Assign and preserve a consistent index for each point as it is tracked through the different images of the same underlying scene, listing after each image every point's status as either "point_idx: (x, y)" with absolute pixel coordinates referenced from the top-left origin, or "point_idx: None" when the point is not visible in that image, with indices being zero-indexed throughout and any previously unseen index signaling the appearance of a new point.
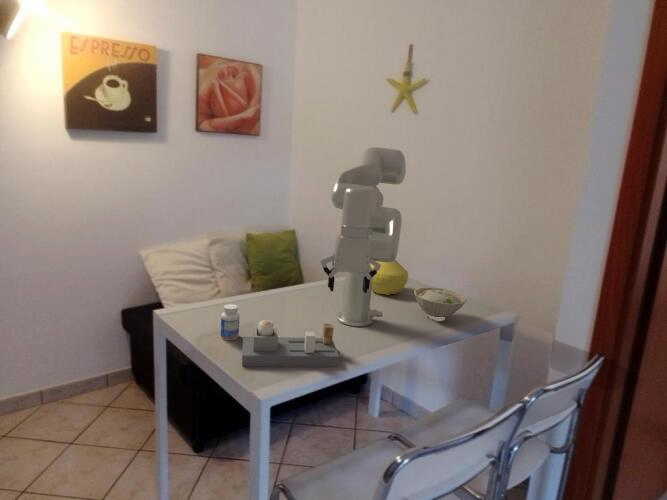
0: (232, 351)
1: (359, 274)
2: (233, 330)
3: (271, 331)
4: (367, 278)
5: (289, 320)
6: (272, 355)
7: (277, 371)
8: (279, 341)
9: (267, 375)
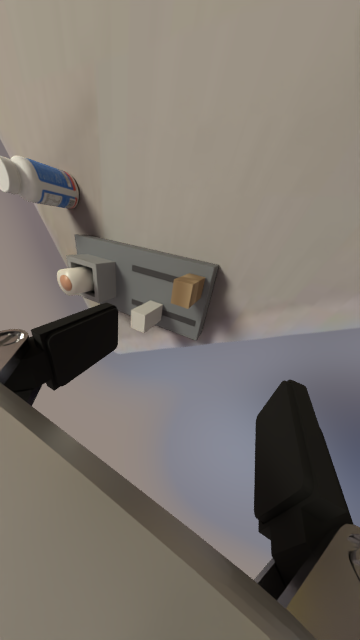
0: None
1: None
2: (58, 205)
3: (85, 291)
4: (274, 556)
5: (172, 44)
6: None
7: (127, 317)
8: (120, 263)
9: (118, 321)
